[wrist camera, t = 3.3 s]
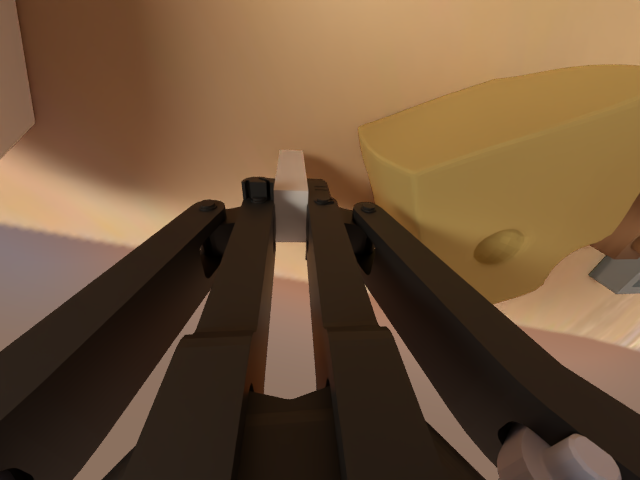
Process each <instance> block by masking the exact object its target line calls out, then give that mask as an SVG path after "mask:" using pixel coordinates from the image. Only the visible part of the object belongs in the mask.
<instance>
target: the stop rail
mask: <svg viewBox="0 0 640 480" xmlns="http://www.w3.org/2000/svg"><path fill="white" fill-rule="evenodd" d="M590 246H592V247H594V248H595V249H597V250H599V251H600V252H602V253H604V254H606V255H607V256H609V257H611V258H612V259H638V258H639V257H640V193H639V194H638V196H637V198H636V199H635V201H634V202H633V204H632V206H631V207H630V209H629V211H628V212H627V214H626V215H625V217H624V218H623V220H622V222H621V223H620V224H619V226H618V227H617V228H616V229H615V231H614V232H613V233H612V234H611V235H610V236H608V237H605V238H604V239H603V240H602V241H599V242H597V243H594V244H590Z"/></svg>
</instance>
